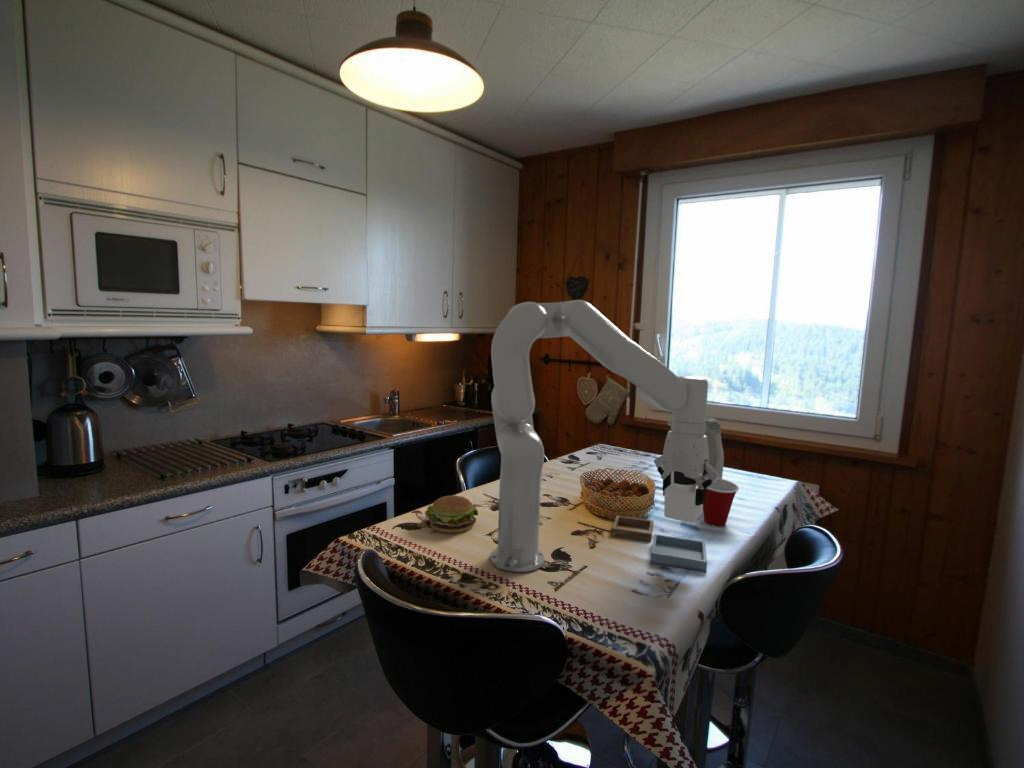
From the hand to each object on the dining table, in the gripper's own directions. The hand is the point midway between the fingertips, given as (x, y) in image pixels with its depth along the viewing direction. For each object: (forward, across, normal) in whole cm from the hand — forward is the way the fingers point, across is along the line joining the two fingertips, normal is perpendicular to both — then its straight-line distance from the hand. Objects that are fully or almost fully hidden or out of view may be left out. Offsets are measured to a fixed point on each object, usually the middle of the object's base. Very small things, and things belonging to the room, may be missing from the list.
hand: (683, 499), depth 127 cm
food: (+15, -49, -33) cm, 61 cm away
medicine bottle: (+4, 0, +1) cm, 4 cm away
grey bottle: (+15, -16, +42) cm, 48 cm away
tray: (+15, 0, 0) cm, 15 cm away
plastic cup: (+15, -5, +29) cm, 33 cm away
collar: (+15, -16, +4) cm, 22 cm away
